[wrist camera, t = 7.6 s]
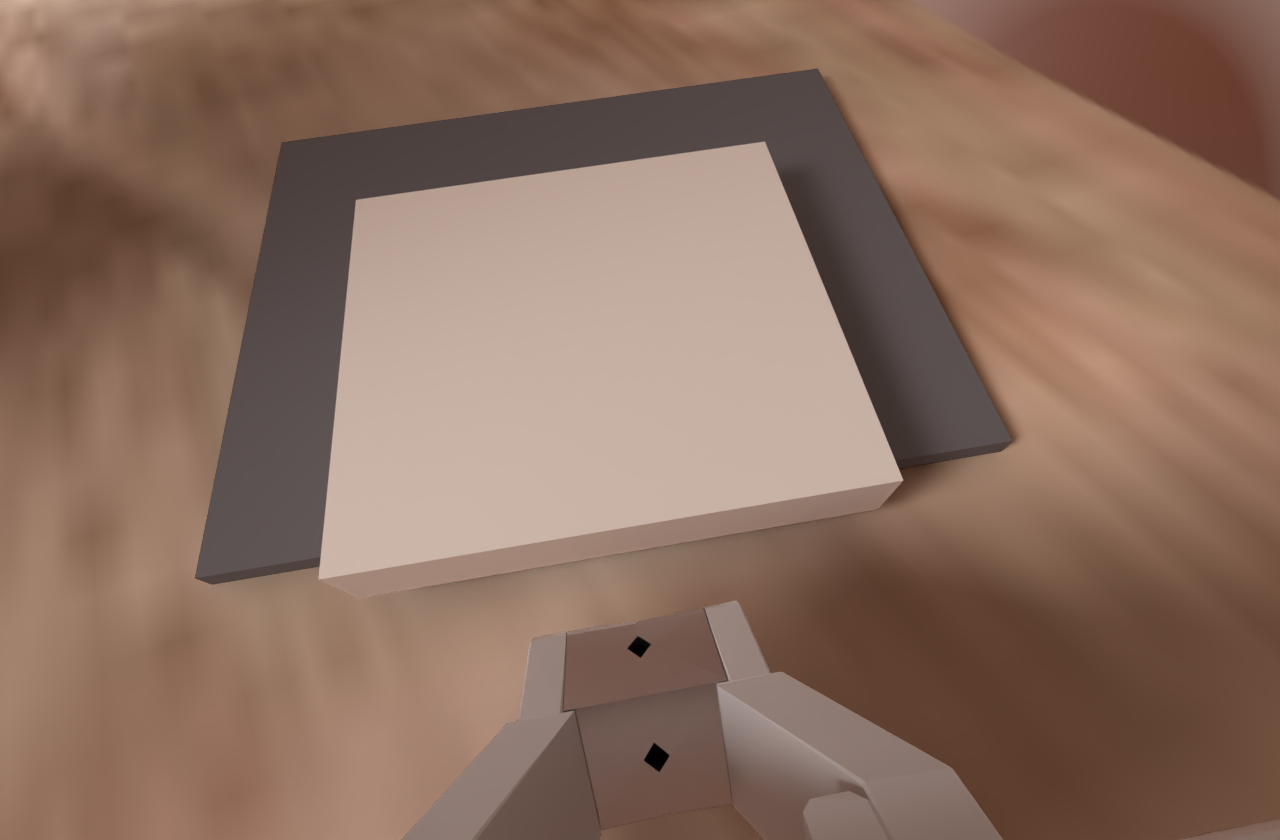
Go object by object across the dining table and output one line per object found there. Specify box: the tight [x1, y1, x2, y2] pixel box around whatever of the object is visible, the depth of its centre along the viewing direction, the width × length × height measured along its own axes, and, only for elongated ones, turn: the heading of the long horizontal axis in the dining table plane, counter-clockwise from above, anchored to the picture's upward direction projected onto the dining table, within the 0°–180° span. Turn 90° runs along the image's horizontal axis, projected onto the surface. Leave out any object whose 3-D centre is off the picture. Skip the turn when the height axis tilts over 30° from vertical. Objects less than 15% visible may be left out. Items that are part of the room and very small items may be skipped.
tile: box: [318, 142, 903, 598], centre depth 16 cm, size 2×12×11 cm
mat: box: [195, 69, 1012, 584], centre depth 19 cm, size 16×20×1 cm
